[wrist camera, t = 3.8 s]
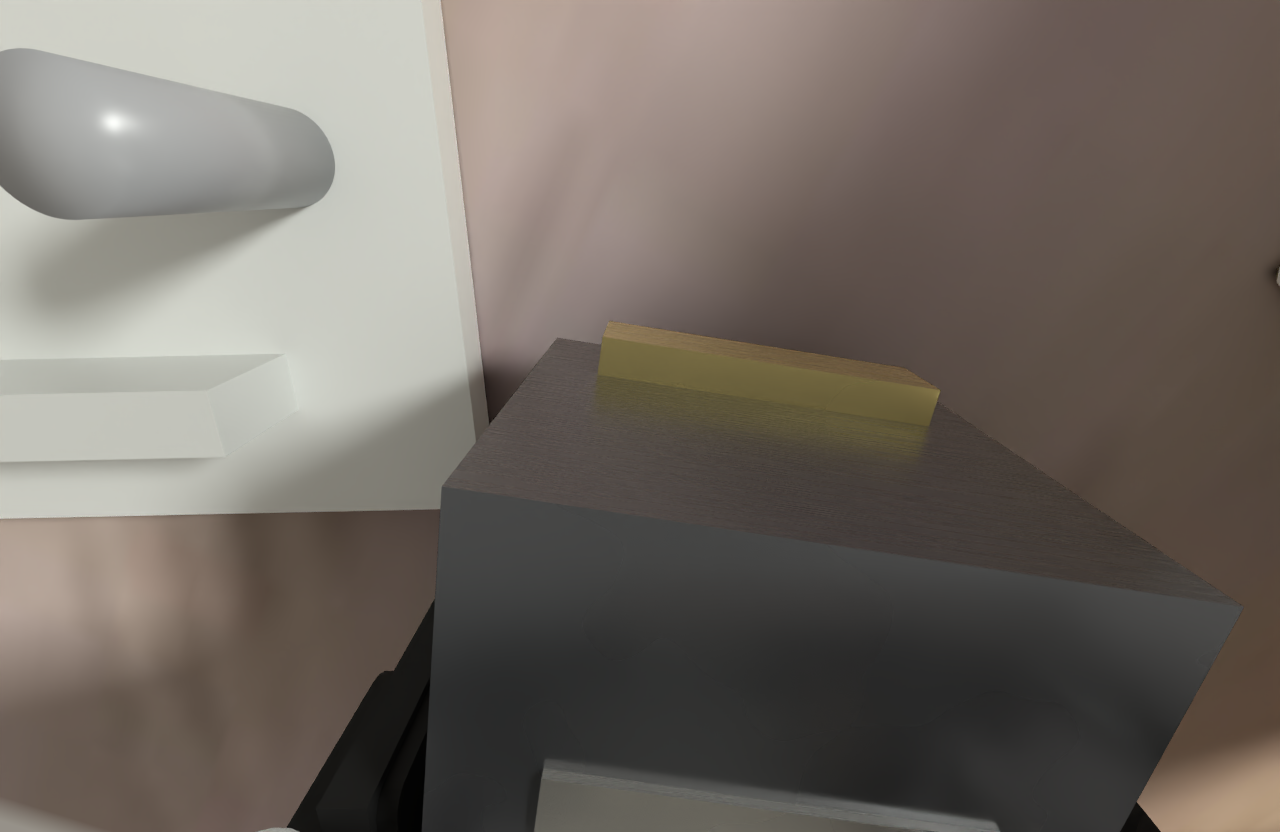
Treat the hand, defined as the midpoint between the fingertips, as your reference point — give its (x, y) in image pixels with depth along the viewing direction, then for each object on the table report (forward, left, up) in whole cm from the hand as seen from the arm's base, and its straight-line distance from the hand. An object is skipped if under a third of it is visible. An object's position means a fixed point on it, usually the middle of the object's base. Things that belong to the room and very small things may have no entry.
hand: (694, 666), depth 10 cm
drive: (0, 0, -1) cm, 1 cm away
